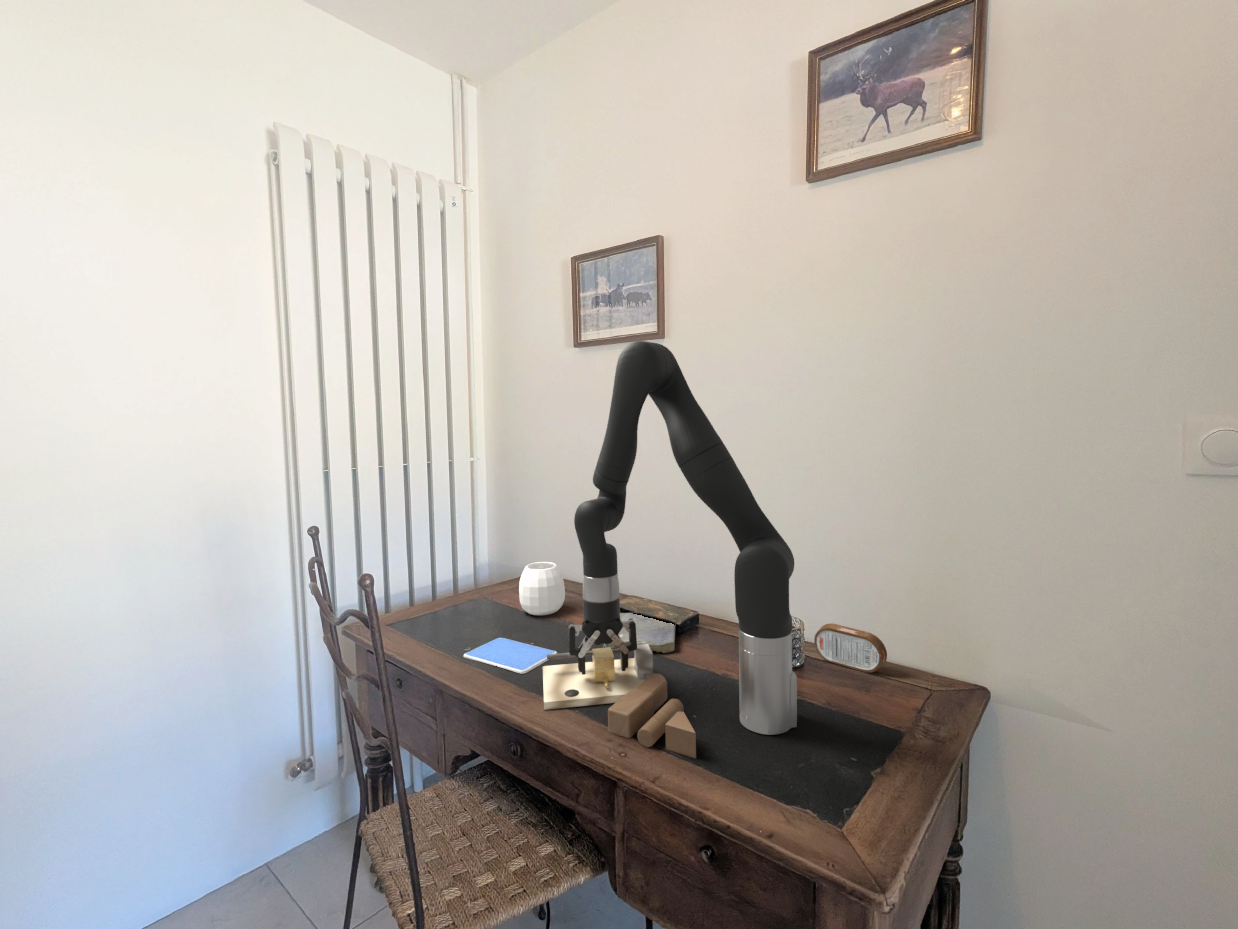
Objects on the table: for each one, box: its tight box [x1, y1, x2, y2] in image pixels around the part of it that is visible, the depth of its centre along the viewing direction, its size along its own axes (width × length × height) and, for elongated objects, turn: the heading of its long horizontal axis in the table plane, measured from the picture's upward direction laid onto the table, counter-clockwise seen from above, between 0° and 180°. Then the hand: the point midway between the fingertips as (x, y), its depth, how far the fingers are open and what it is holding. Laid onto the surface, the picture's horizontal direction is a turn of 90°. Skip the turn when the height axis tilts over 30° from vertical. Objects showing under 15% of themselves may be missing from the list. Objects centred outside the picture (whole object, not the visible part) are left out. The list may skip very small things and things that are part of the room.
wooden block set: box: [607, 672, 697, 759], centre depth 103 cm, size 17×6×18 cm
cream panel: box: [542, 644, 654, 711], centre depth 118 cm, size 23×16×7 cm
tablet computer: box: [463, 637, 558, 675], centre depth 135 cm, size 19×13×1 cm, turn 57°
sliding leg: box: [591, 647, 615, 688], centre depth 117 cm, size 4×8×5 cm, turn 8°
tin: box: [814, 623, 888, 673], centre depth 124 cm, size 15×3×8 cm, turn 47°
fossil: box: [603, 612, 676, 654], centre depth 143 cm, size 20×5×17 cm
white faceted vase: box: [518, 561, 566, 616], centre depth 164 cm, size 13×13×14 cm
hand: (603, 671), depth 119 cm, fingers open, 8 cm apart
